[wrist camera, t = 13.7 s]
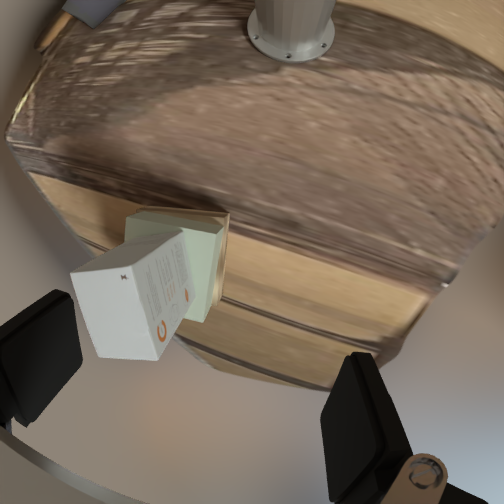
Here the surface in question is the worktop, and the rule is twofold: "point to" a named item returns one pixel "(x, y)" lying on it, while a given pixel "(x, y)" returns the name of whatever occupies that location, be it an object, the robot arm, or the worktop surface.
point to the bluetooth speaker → (91, 10)
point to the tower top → (198, 248)
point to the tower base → (206, 217)
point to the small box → (136, 295)
